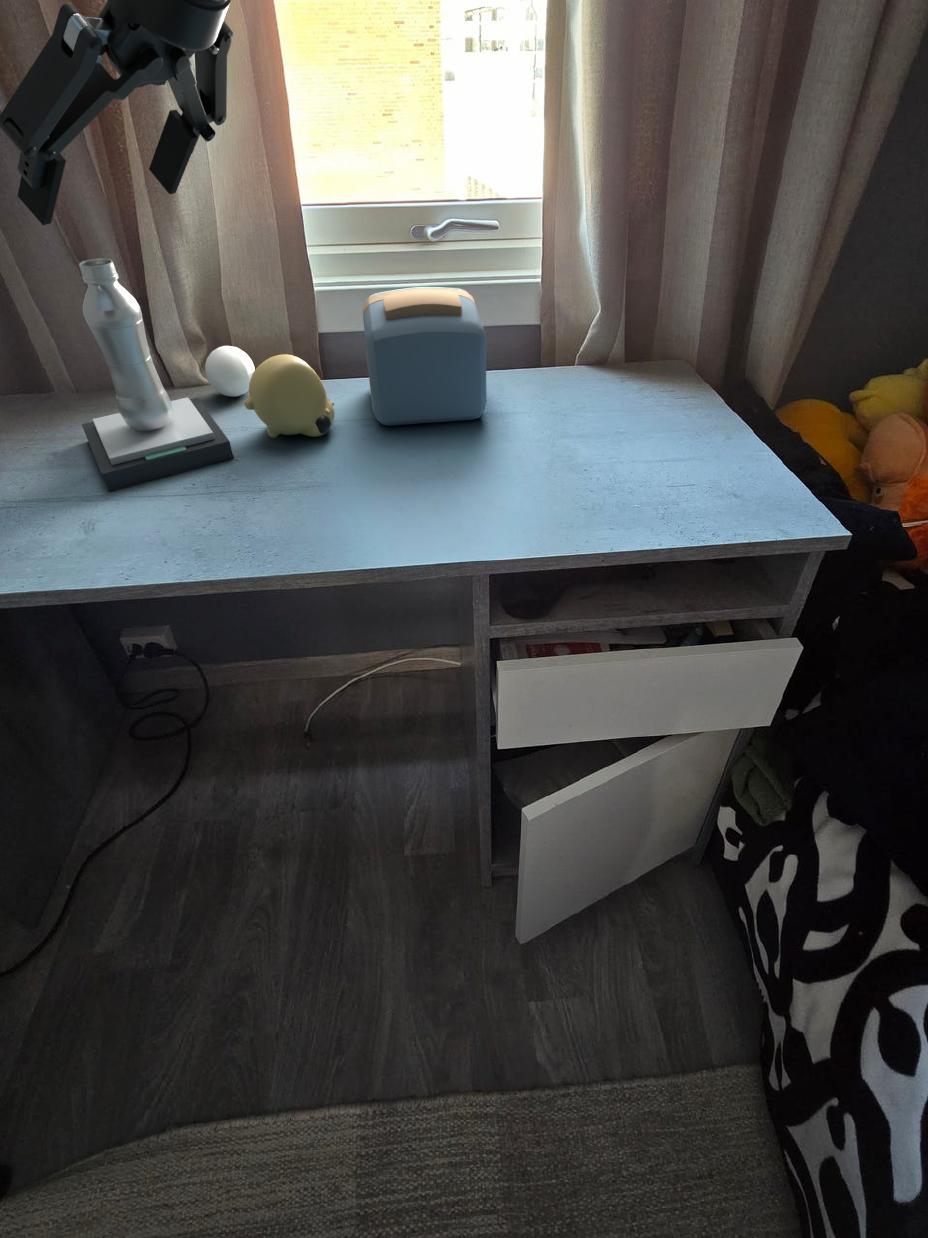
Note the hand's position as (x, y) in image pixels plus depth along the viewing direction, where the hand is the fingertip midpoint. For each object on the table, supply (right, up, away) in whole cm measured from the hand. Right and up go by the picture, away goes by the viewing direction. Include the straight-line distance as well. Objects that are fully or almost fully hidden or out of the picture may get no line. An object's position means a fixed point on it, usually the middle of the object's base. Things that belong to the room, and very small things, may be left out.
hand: (102, 194), depth 60 cm
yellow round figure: (+8, -11, +38) cm, 40 cm away
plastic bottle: (-10, -11, +32) cm, 35 cm away
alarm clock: (+26, -5, +44) cm, 51 cm away
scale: (-10, -14, +34) cm, 38 cm away
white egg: (-4, -1, +48) cm, 48 cm away
